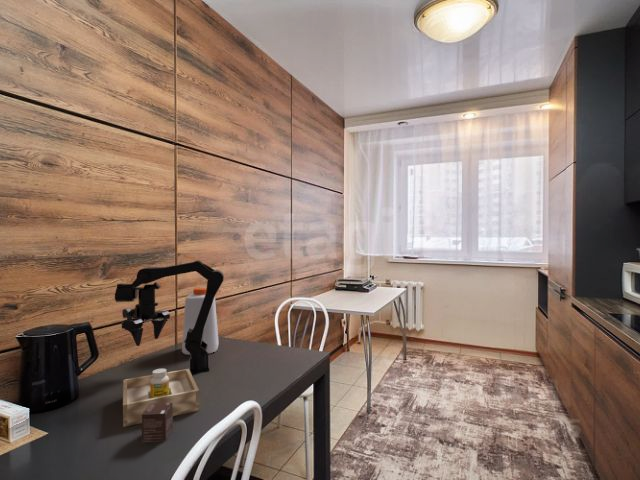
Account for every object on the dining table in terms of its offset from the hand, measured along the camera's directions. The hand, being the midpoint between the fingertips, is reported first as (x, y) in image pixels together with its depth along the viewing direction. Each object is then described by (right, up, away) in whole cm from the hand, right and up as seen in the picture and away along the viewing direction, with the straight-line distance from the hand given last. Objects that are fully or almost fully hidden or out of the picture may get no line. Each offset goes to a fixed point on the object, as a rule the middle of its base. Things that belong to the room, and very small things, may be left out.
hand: (147, 342), depth 137 cm
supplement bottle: (+15, -12, -24) cm, 31 cm away
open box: (+15, -12, -24) cm, 31 cm away
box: (+23, -13, -42) cm, 50 cm away
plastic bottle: (+11, -12, +29) cm, 33 cm away
